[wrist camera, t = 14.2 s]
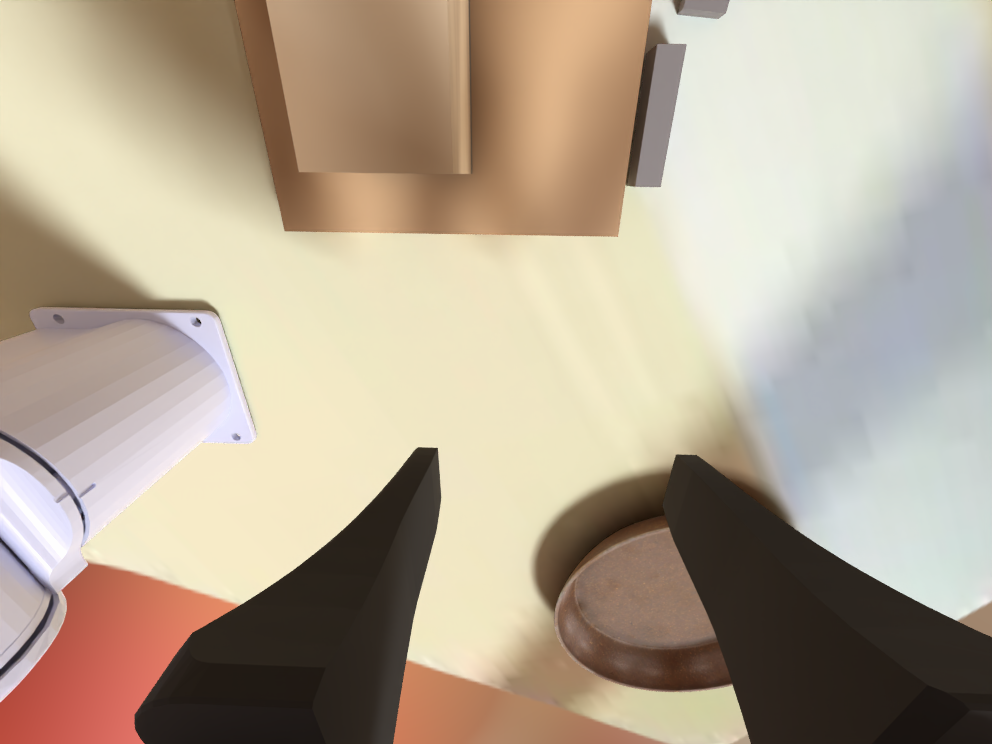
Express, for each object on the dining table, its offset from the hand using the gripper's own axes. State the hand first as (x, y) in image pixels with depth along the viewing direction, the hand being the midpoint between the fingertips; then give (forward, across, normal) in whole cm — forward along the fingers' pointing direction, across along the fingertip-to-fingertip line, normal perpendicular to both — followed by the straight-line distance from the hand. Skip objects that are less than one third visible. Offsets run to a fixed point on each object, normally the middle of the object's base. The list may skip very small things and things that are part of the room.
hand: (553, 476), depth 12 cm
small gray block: (+9, -4, -10) cm, 14 cm away
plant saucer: (+10, -11, +18) cm, 23 cm away
